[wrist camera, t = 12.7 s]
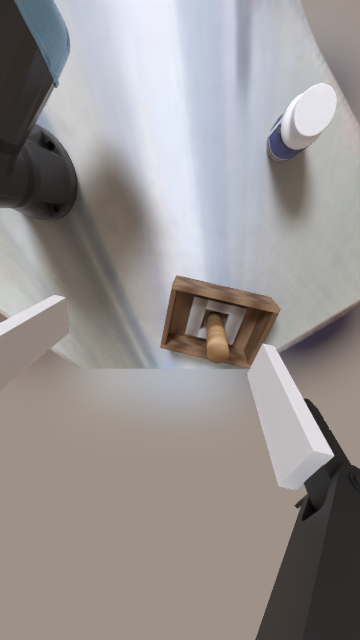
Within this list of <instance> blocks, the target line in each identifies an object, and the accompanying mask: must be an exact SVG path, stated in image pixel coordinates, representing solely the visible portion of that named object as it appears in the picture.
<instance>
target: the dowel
mask: <svg viewBox="0 0 360 640" xmlns="http://www.w3.org/2000/svg"><path fill="white" fill-rule="evenodd" d="M206 340H207V357H208V359H209V360H210V361H212V362H214V363H222V362H225V361H226V360H227V359H228V358H229V349H228V343H227V338H226V333H225V328H224V323H223V317H222V315H221V314H220V313H219V312H216V311H213V312H210V313H209V314H208V315H207V316H206Z"/></svg>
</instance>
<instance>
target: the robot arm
mask: <svg viewBox="0 0 360 640" xmlns="http://www.w3.org/2000/svg"><path fill="white" fill-rule="evenodd" d="M69 53H70V39H69V34H68V30H67V27H66V25H65V22H64V20H63V18H62V16H61V14H60V12H59V10H58V8H57V6H56V4H55V2H54V0H0V208H12V209H14V210H16V211H19V212H21V213H23V214H26V215H28V216H30V217H33V218H37V219H43V220H51V219H58V218H61V217H63V216H64V215H66V214H67V213H68V212H69V211H70V209H71V208H72V206H73V204H74V201H75V198H76V192H77V181H76V175H75V171H74V167H73V164H72V162H71V159H70V157H69V155H68V154H67V152H66V150H65V149H64V147H63V146H62V144H61V143H60V142H59V141H58V140H57V139H56V138H55V137H54V136H53V135H52V134H51V133H50V132H49V131H47V130H46V129H44V128H42V127H40V126H39V125H37V124H35V123H36V121H37V119H38V117H39V116H40V114H41V112H42V110H43V108H44V106H45V104H46V102H47V100H48V99H49V97H50V95H51V93H52V91H53V89H54V87H56V88H57V87H58V84H59V82H58V78H59V76H60V74H61V72H62V70H63V67H64V65H65V63H66V61H67V59H68V56H69ZM68 333H69V328H68V317H67V305H66V297H61V296H57V295H53V296H51V297H49V298H47V299H45V300H43V301H42V302H40V303H38V304H36V305H34V306H32V307H30V308H28V309H26V310H24V311H22V312H20V313H18V314H17V315H15V316H13V317H11V318H9V319H7V320H5V321H3V322H1V323H0V391H1V390H2V389H4V388H5V387H6V386H7V385H8V384H9V383H10V382H12V381H13V380H14V379H15V378H16V377H18V376H19V375H20V374H21V373H22V372H23V371H24V370H26V369H27V368H28V367H29V366H30V365H32V364H33V363H34V362H35V361H36V360H37V359H39V358H40V357H41V356H42V355H43V354H44V353H45V352H47V351H48V350H49V349H50V348H51V347H53V346H54V345H55V344H56V343H57V342H58V341H60V340H61V339H62V338H63V337H64V336H66V335H67V334H68ZM247 375H248V379H249V382H250V386H251V389H252V393H253V397H254V400H255V404H256V407H257V411H258V414H259V418H260V422H261V425H262V429H263V432H264V436H265V439H266V443H267V447H268V450H269V454H270V457H271V461H272V464H273V468H274V471H275V475H276V479H277V482H278V486H280V487H284V488H288V489H293V490H297V489H298V488H300V487H301V486H302V485H303V484H304V485H305V487H306V490H307V493H308V494H307V495H306V496H304V497H303V498H302V499H301V500H300V501H299V502H297V504H296V505H295V507H296V508H299V507H300V506H301V509H300V511H299V514H298V517H297V520H296V523H295V526H294V528H293V532H292V534H291V537H290V540H289V543H288V546H287V549H286V552H285V555H284V558H283V561H282V564H281V567H280V570H279V573H278V575H277V578H276V581H275V584H274V587H273V590H272V593H271V596H270V599H269V602H268V605H267V608H266V610H265V613H264V616H263V619H262V622H261V625H260V628H259V631H258V634H257V637H256V640H360V469H359V468H357V467H356V466H353V465H351V463H350V462H349V460H348V459H347V457H346V455H345V454H344V452H343V450H342V449H341V447H340V446H339V444H338V442H337V440H336V439H335V437H334V435H333V434H332V432H331V430H329V427H328V425H327V424H326V422H325V421H324V419H323V417H322V416H321V413H320V412H319V410H318V409H317V408H316V407H315V406H314V405H313V403H312V402H311V401H310V400H308V399H304V398H302V396H301V394H300V392H299V391H298V389H297V387H296V385H295V383H294V381H293V380H292V378H291V376H290V374H289V373H288V371H287V369H286V367H285V365H284V363H283V361H282V360H281V358H280V356H279V354H278V352H277V351H276V349H275V347H274V346H272V345H267V344H262V346H261V348H260V350H259V352H258V354H257V355H256V357H255V359H254V361H253V363H252V365H251V367H250V370H249V372H248V373H247Z"/></svg>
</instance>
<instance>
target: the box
mask: <svg viewBox="0 0 360 640" xmlns="http://www.w3.org/2000/svg"><path fill="white" fill-rule="evenodd" d="M280 310H281V309H280V308H279V307H278V305H277V304H276V303H275V302H274V301H273V299H272V298H271V297H267V296H263V295H258V294H254V293H250V292H246V291H241V290H237V289H233V288H228V287H224V286H220V285H216V284H211V283H207V282H203V281H199V280H194V279H190V278H186V277H181V276H176V278H175V280H174V282H173V284H172V290H171V295H170V300H169V305H168V310H167V315H166V321H165V326H164V331H163V336H162V341H161V346H160V348H163V349H168V350H172V351H176V352H180V353H185V354H189V355H193V356H198V357H202V358H206V359H208V357H207V340H206V316H207V315H208V314H209V313H210V312H213V311H216V312H219V313H220V314H221V315H222V317H223V323H224V328H225V333H226V338H227V343H228V349H229V358H228V359H227V360H226V361H225V362H223V363H228V364H232V365H236V366H241V367H245V368H249V369H250V367H251V365H252V363H253V361H254V359H255V357H256V355H257V354H258V352H259V350H260V348H261V346H262V344H263V343H264V341H265V339H266V337H267V335H268V333H269V332H270V330H271V328H272V326H273V324H274V322H275V320H276V318H277V316H278V314H279V312H280Z"/></svg>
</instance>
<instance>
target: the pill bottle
mask: <svg viewBox="0 0 360 640" xmlns="http://www.w3.org/2000/svg"><path fill="white" fill-rule="evenodd" d="M336 102H337V101H336V95H335V92H334V90H333V89H332V87H330V86H329V85H327V84H316V85H314V86H312V87H310V88H309V89H308V90H307V91H305V92H304V93H302V94H300V95H299V96H297V97H296V98H295V99H294V100H293V101H292V102H291V103H290V104H289V106H288V107H287V108H286V110H285V111H284V112H283V114H282V115H281V116H280V117H279V119H278V120H277V121H276V123H275V124H274V125H273V127H272V129H271V130H270V132H269V135H268V139H267V150H268V153H269V155H270V157H271V158H272V159H274V160H276V161H280V162H282V161H286V160H289V159H290V158H292V157H294V156H295V155H296V154H298V153H299V152H301V151H302V150H304V149H305V148H307V147H308V146H309V145H311V144H312V143H313V142H314V141H315V140H316V139H317V138H318V137H319V136H320V134H321V133H322V131H323V130H324V129H325V128H326V127H327V126H328V125H329V123H330V122H331V120H332V118H333V116H334V113H335V110H336Z"/></svg>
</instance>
